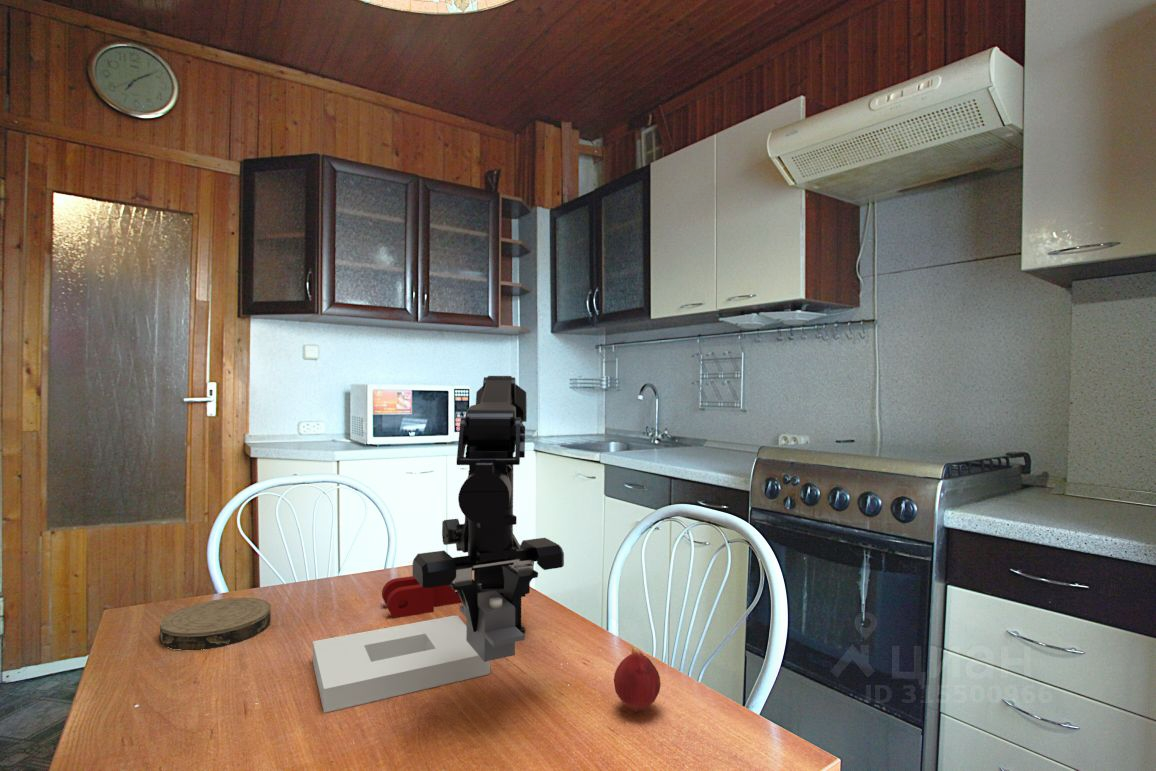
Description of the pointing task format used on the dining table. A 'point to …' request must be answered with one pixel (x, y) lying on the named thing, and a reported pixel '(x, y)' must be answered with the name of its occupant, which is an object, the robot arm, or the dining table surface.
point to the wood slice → (215, 623)
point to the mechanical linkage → (415, 597)
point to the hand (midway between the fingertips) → (490, 627)
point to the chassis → (393, 662)
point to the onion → (637, 681)
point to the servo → (494, 627)
